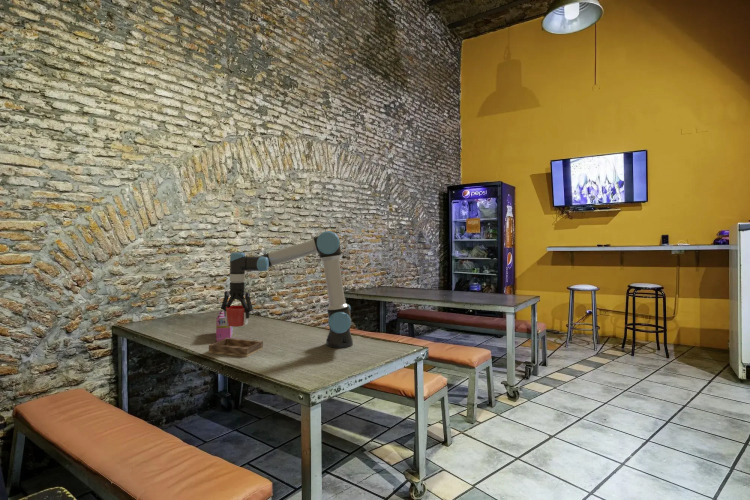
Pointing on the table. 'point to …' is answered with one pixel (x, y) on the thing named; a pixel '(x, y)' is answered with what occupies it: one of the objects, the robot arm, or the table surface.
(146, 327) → the table surface
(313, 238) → the robot arm
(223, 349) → the wooden tray
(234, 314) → the flower pot
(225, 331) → the gum box
